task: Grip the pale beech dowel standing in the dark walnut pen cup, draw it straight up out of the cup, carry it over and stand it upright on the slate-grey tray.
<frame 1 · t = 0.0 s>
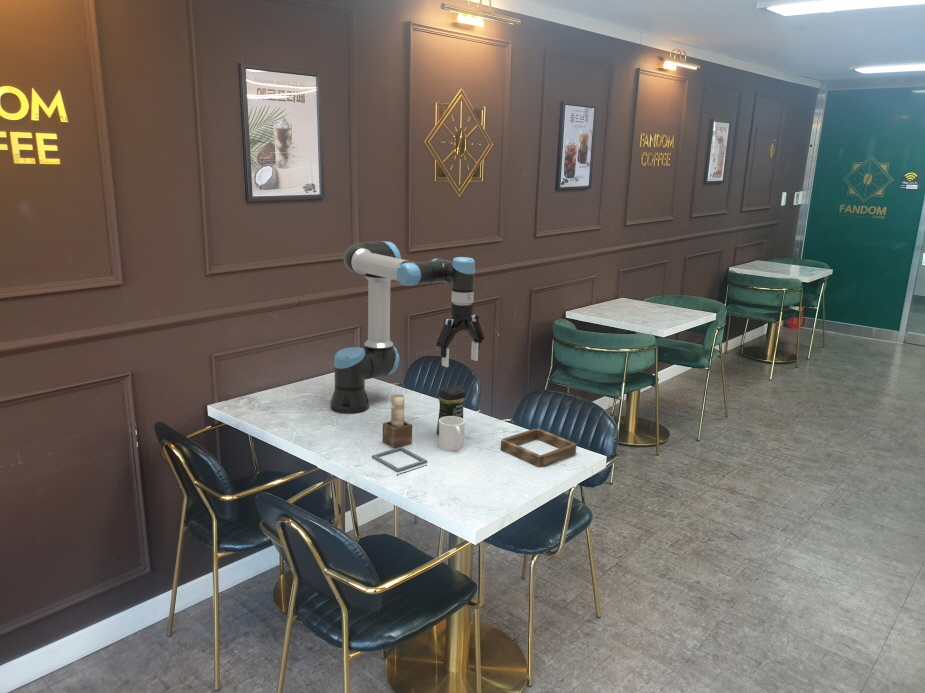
hand: (459, 363, 246), 28 cm above the table, fingers open, 13 cm apart
coffee jar: (450, 436, 255), on the table
mug: (451, 450, 243), on the table
tray: (399, 463, 230), on the table
pen cup: (397, 445, 244), on the table
dowel: (397, 442, 244), point 1 cm above the table, touching pen cup
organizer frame: (538, 451, 244), on the table
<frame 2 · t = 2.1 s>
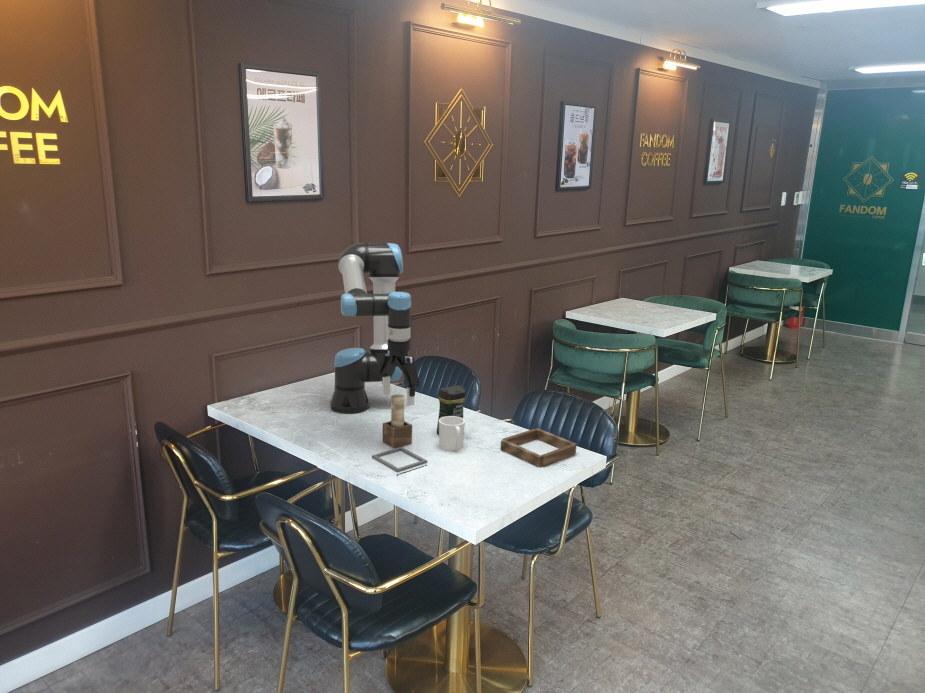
hand: (398, 399, 239), 17 cm above the table, fingers open, 13 cm apart
nothing on the table moved.
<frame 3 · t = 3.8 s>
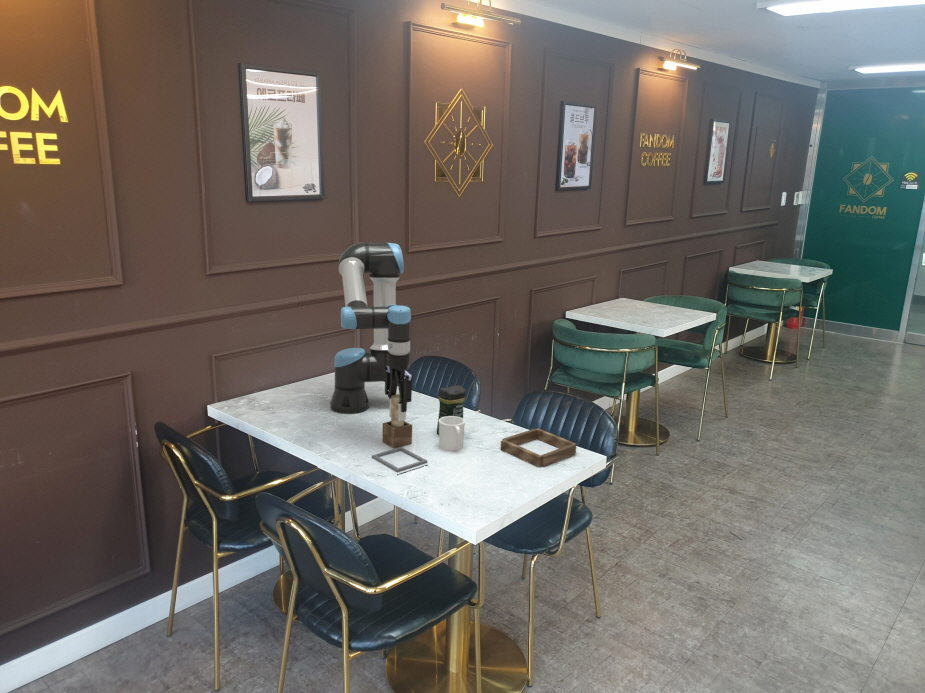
hand: (397, 418, 241), 10 cm above the table, fingers closed on dowel, 4 cm apart
dowel: (397, 442, 244), point 1 cm above the table, touching gripper, pen cup
everything else where it was.
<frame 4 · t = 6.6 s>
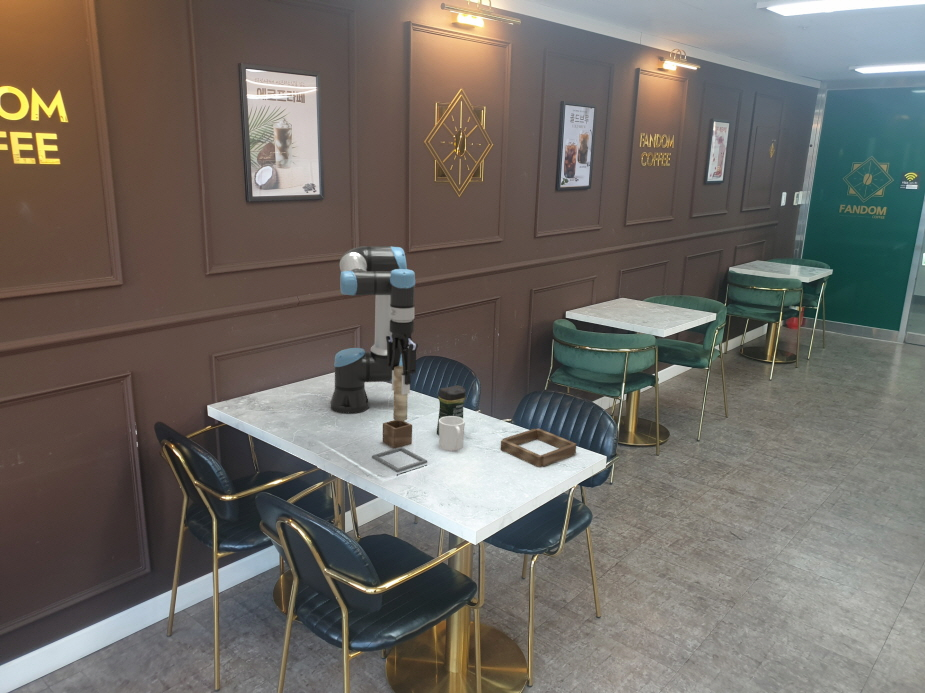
hand: (400, 391, 224), 25 cm above the table, fingers closed on dowel, 4 cm apart
dowel: (400, 418, 226), point 15 cm above the table, touching gripper
everything else where it was.
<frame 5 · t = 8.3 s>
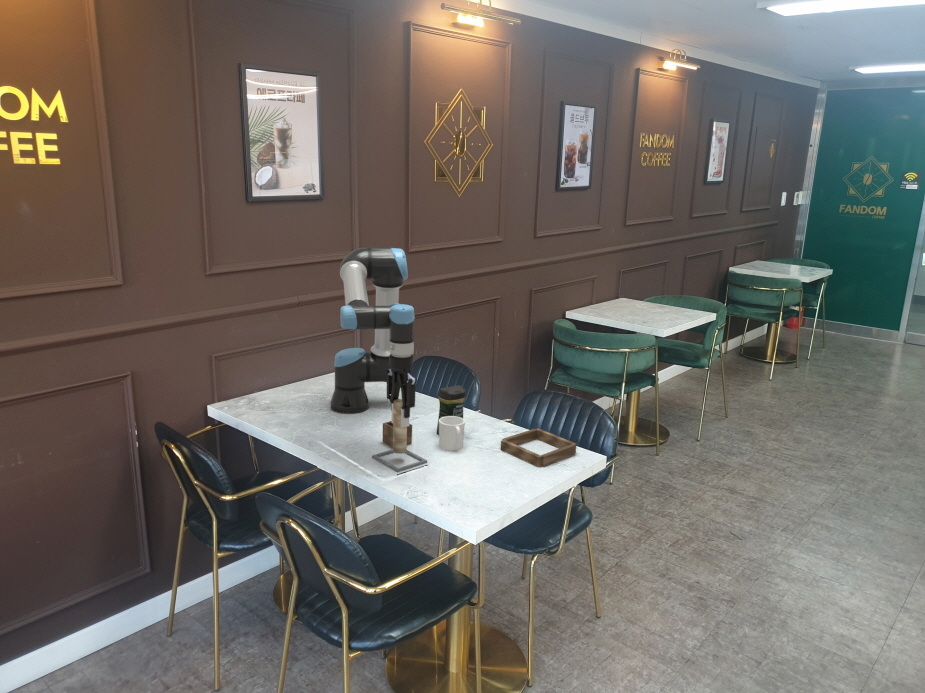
hand: (400, 424, 227), 14 cm above the table, fingers closed on dowel, 4 cm apart
dowel: (399, 450, 229), point 4 cm above the table, touching gripper
everything else where it was.
when the fingers open (11 cm above the table, at t = 9.6 s): dowel stays where it is, resting on tray.
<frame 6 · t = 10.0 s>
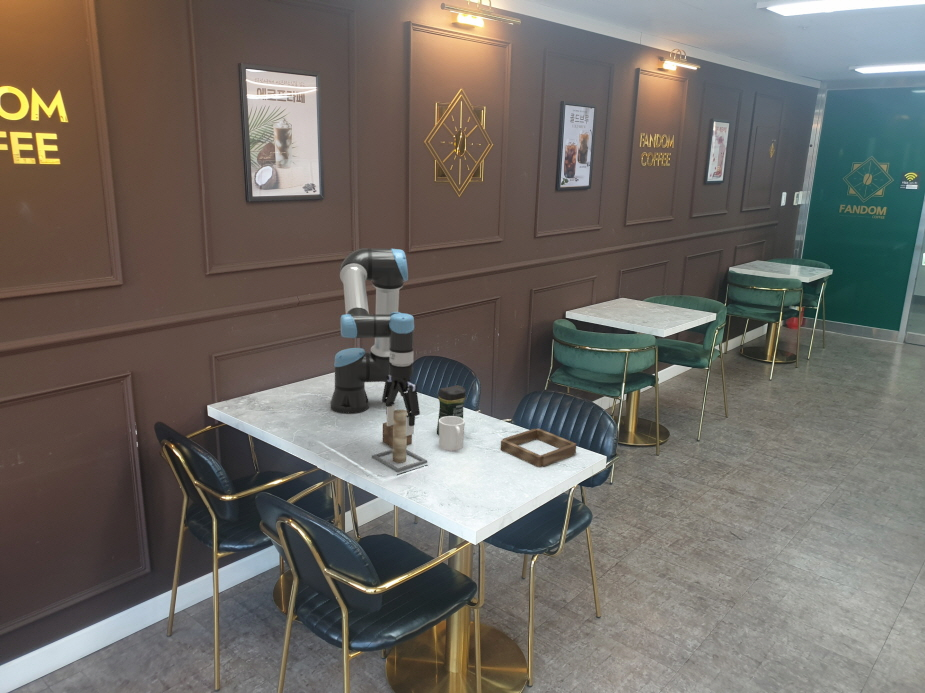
hand: (400, 429, 227), 12 cm above the table, fingers open, 9 cm apart
dowel: (399, 461, 230), point 1 cm above the table, touching tray
everything else where it was.
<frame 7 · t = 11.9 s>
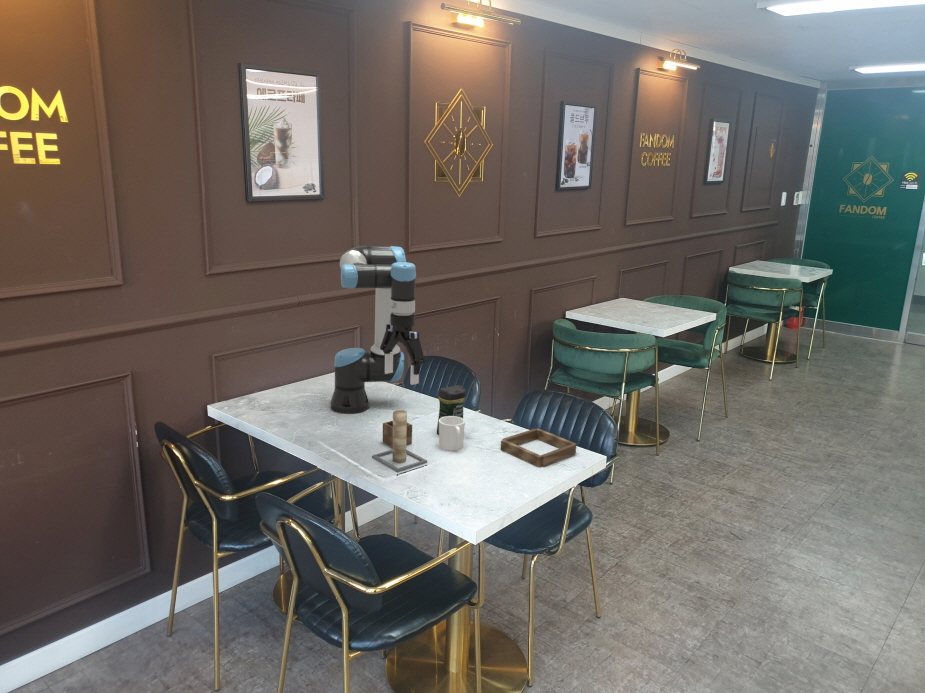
hand: (401, 378, 224), 29 cm above the table, fingers open, 13 cm apart
nothing on the table moved.
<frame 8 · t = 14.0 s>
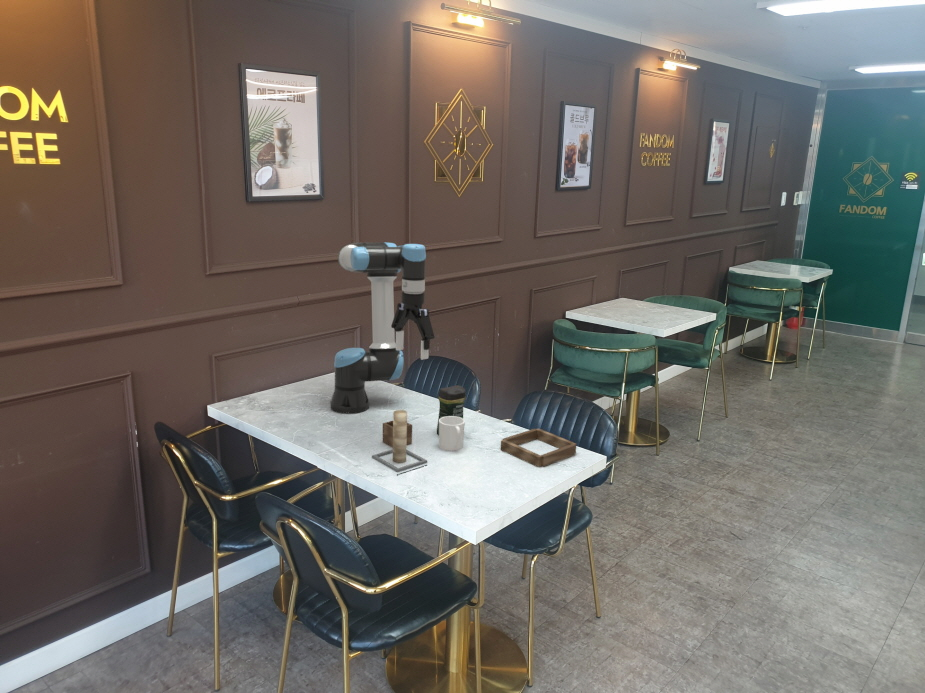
hand: (411, 354, 237), 33 cm above the table, fingers open, 13 cm apart
nothing on the table moved.
at the end: dowel inside the target area on the tray (0.0 cm from its centre), point 0.6 cm above the tray's base; dowel tilted 0°; the gripper is holding nothing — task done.
